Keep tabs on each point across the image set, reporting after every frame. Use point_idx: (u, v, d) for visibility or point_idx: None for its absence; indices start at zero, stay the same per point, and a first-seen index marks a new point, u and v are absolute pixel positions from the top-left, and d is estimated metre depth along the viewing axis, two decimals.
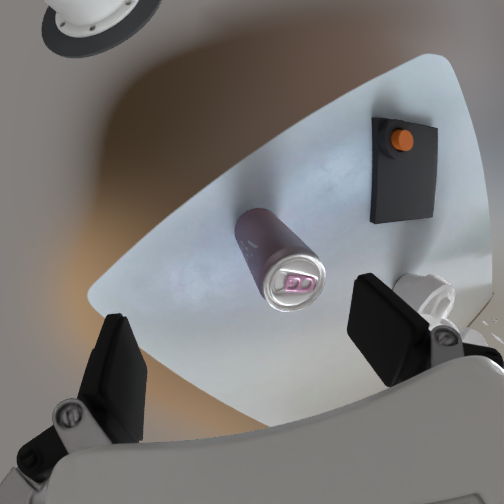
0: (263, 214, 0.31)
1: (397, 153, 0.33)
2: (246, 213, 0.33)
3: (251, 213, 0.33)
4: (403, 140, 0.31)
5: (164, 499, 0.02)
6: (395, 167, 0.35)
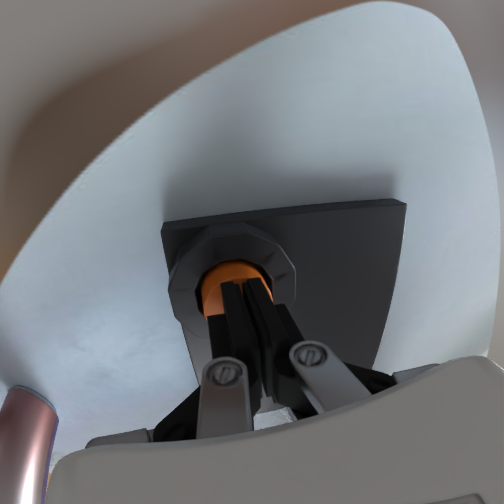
0: (7, 413, 0.12)
1: None
2: (7, 394, 0.14)
3: (6, 400, 0.13)
4: None
5: (164, 499, 0.02)
6: None
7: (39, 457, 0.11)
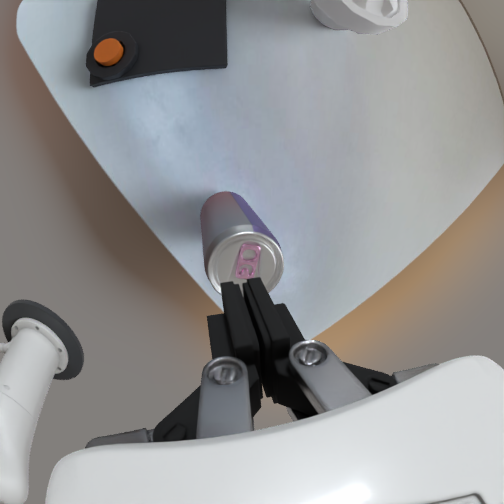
0: None
1: (127, 53, 0.21)
2: None
3: None
4: (106, 54, 0.19)
5: (164, 499, 0.02)
6: (150, 45, 0.22)
7: (225, 202, 0.26)
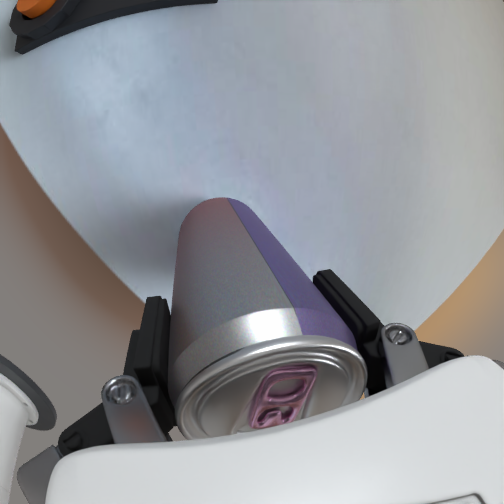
0: None
1: None
2: None
3: None
4: None
5: (164, 499, 0.02)
6: None
7: (217, 222, 0.13)
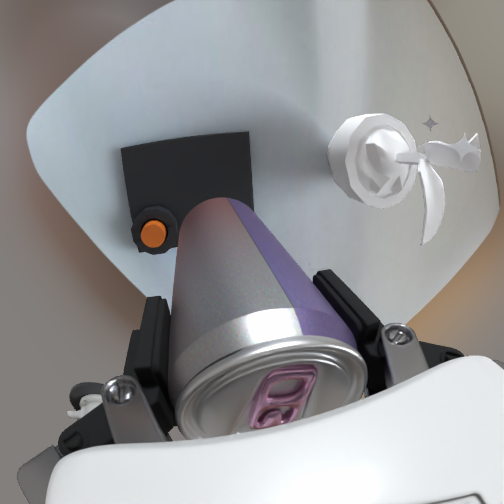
0: None
1: (170, 233, 0.33)
2: None
3: None
4: (154, 240, 0.31)
5: (164, 499, 0.02)
6: None
7: (218, 222, 0.13)
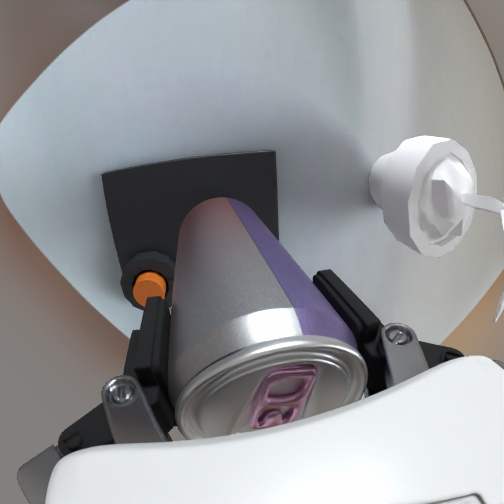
0: None
1: (172, 288, 0.25)
2: None
3: None
4: None
5: (164, 499, 0.02)
6: None
7: (218, 221, 0.13)
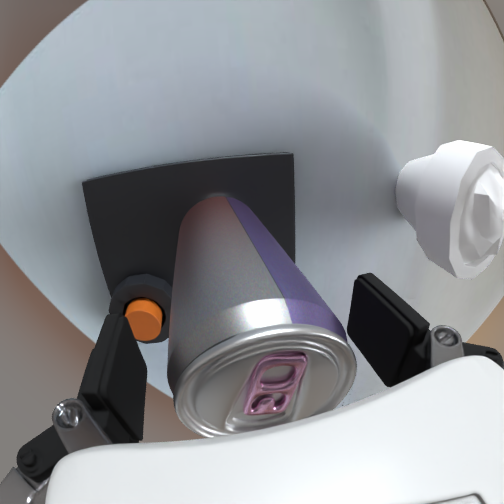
0: None
1: (169, 318, 0.21)
2: None
3: None
4: (144, 332, 0.19)
5: (164, 499, 0.02)
6: None
7: (216, 219, 0.14)
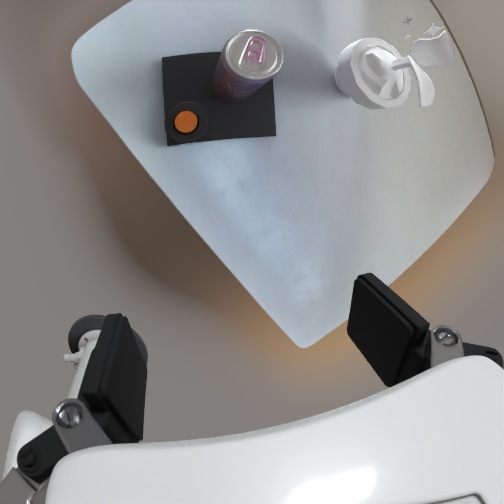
0: (213, 78, 0.30)
1: (201, 124, 0.34)
2: (215, 92, 0.33)
3: (214, 87, 0.32)
4: (186, 125, 0.32)
5: (164, 499, 0.02)
6: (216, 116, 0.35)
7: None
